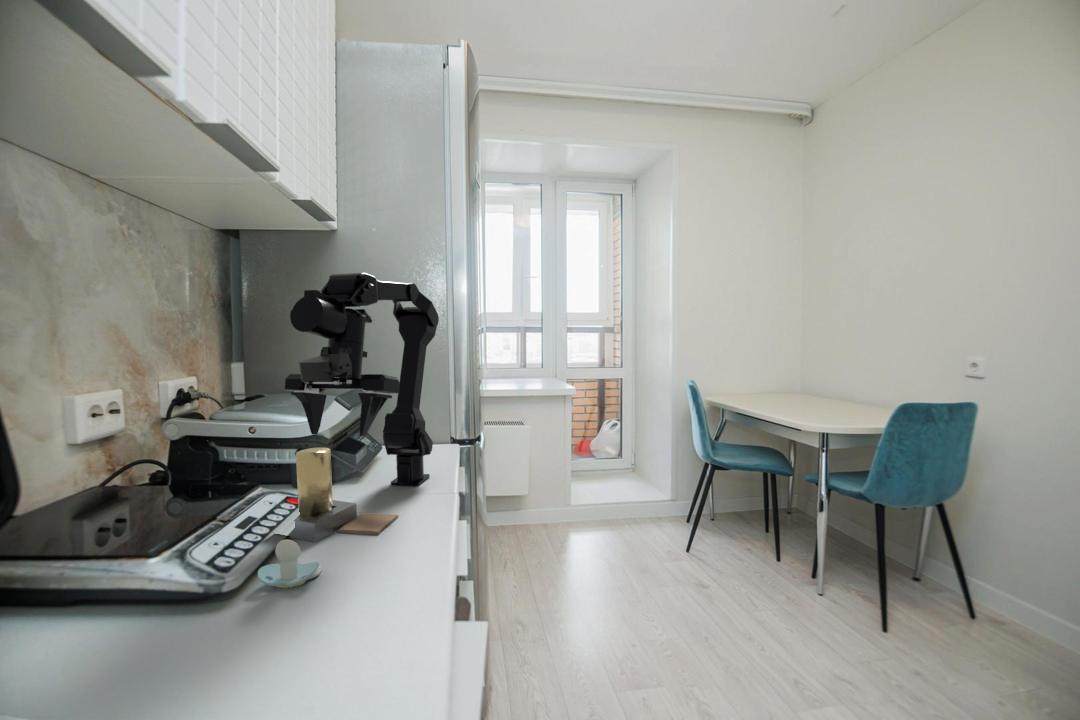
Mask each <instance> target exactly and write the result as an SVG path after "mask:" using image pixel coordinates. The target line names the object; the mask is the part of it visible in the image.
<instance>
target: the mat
mask: <svg viewBox="0 0 1080 720" xmlns="http://www.w3.org/2000/svg"><path fill="white" fill-rule="evenodd" d="M398 518H399V515H398V514H389V513H375V512H373V513H372V512H360V513H359V514H357V518H355V519H353V520H351V521H349V522H348V523H347V524H345V525H344V526H343V527H341V528H340V529H339V530H338V533H342V534H343V533H344V534H347V533H348V534H361V535H362V534H363V535H377V536H378V535H380V534H381V533H382V532H383V531H384V530H386V528H388V527H389V526H390V525H391V524H392V523H393V522H394V521H396V520H397V519H398Z"/></svg>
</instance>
